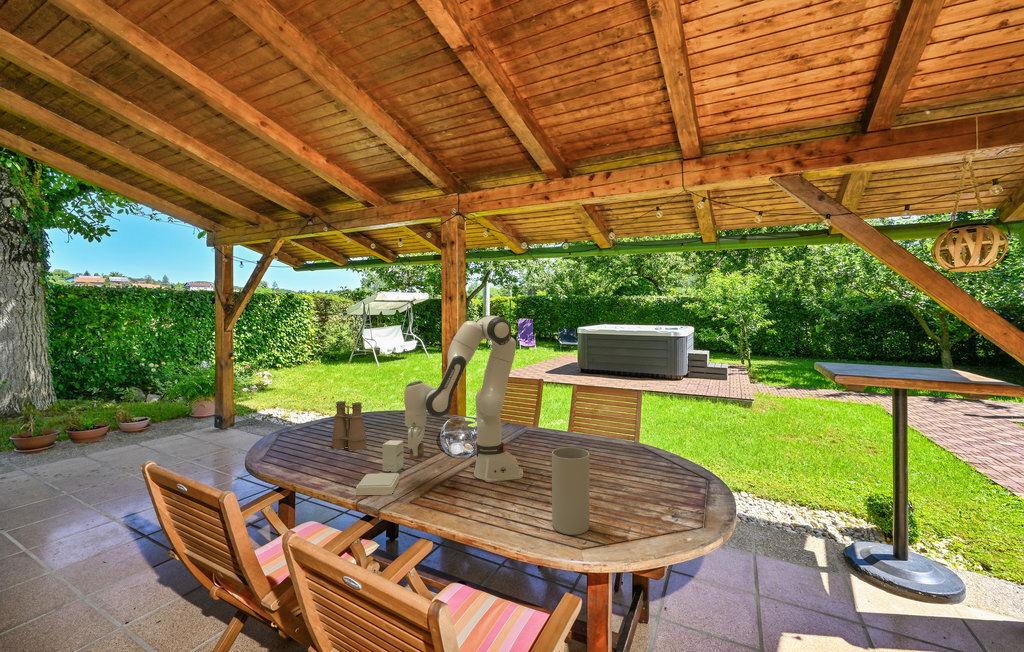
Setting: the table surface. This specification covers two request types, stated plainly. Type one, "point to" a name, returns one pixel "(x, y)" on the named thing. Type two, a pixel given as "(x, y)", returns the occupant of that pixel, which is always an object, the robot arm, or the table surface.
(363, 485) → the plinth
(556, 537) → the table surface
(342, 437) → the binoculars
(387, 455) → the supplement box
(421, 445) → the walnut block
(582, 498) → the cylinder vase
